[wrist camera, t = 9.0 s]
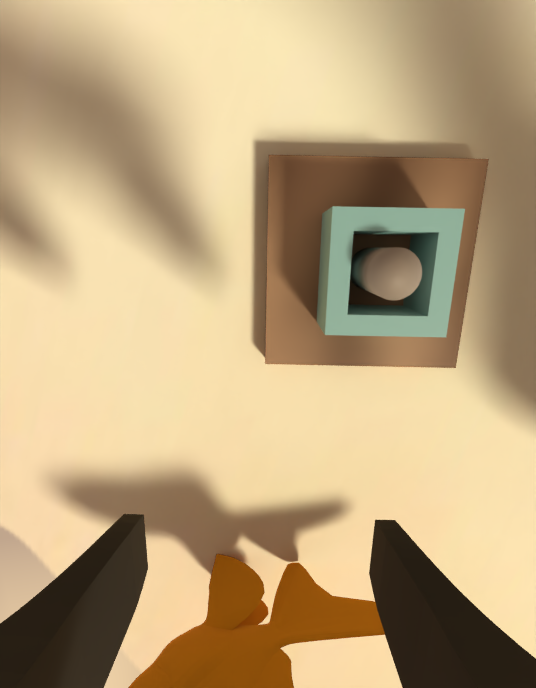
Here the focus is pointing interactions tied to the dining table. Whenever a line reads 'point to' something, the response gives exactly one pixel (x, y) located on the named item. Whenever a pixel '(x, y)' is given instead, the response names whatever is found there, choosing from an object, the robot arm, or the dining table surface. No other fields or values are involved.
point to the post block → (361, 253)
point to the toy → (256, 631)
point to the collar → (426, 243)
